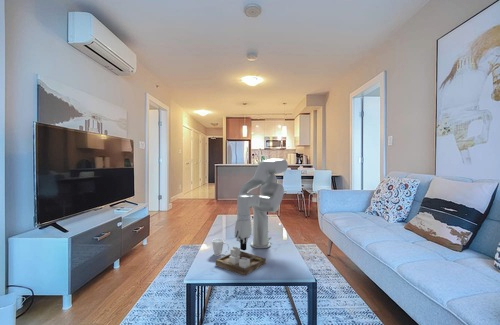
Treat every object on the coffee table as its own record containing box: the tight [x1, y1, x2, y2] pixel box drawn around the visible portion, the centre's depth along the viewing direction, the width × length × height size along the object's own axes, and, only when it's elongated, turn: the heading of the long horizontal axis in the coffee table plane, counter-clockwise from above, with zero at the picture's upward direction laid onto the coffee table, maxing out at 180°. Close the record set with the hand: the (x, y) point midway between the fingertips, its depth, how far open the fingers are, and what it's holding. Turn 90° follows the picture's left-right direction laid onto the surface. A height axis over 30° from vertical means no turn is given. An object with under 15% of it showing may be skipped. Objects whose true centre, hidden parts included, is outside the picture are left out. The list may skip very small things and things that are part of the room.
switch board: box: [215, 250, 267, 277], centre depth 129 cm, size 18×19×3 cm
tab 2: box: [239, 257, 250, 269], centre depth 121 cm, size 4×4×5 cm
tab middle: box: [229, 254, 240, 265], centre depth 125 cm, size 4×4×5 cm
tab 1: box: [229, 246, 241, 256], centre depth 136 cm, size 4×4×5 cm
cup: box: [211, 238, 230, 257], centre depth 143 cm, size 7×10×8 cm
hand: (243, 249), depth 141 cm, fingers closed
